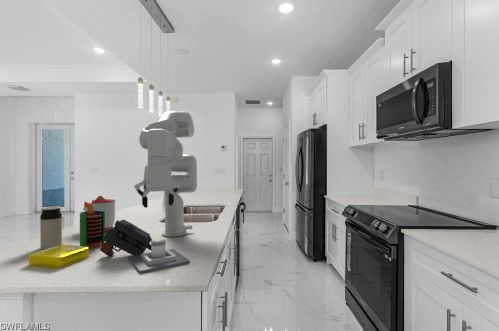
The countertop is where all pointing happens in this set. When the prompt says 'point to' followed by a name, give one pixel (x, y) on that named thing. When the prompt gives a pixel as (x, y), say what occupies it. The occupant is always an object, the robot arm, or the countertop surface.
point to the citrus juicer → (106, 206)
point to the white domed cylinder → (158, 248)
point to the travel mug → (50, 227)
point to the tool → (126, 239)
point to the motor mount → (157, 261)
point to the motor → (92, 227)
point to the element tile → (58, 256)
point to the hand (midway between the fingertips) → (158, 206)
